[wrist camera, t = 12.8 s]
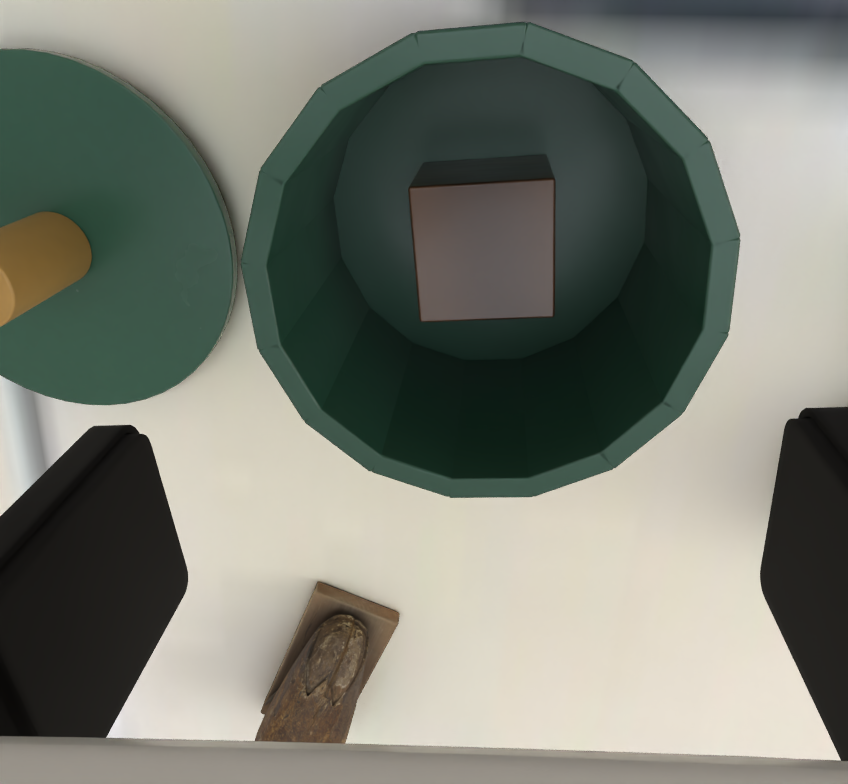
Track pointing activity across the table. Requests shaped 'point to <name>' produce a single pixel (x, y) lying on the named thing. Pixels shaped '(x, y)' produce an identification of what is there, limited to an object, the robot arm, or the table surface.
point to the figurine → (326, 668)
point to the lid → (103, 237)
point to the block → (484, 239)
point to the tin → (504, 338)
